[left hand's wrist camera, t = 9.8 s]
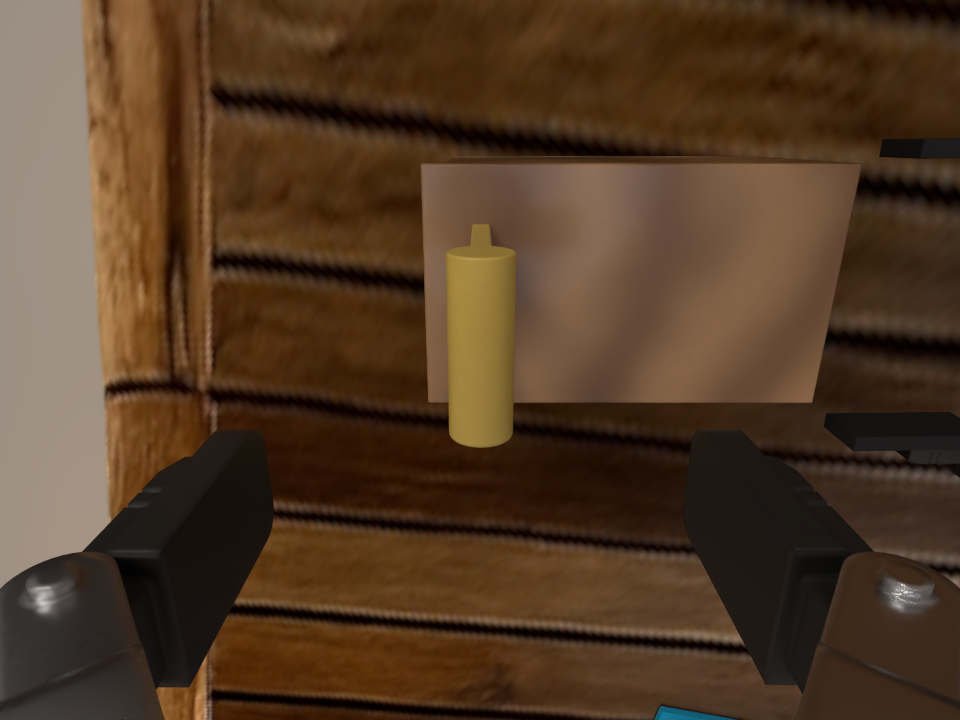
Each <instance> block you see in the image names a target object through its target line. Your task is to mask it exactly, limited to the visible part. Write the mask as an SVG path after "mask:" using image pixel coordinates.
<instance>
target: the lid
mask: <svg viewBox="0 0 960 720" xmlns="http://www.w3.org/2000/svg"><path fill="white" fill-rule="evenodd" d="M861 167H862V165H861V164H860V163H423V164H421V193H422V224H423V254H424V285H425V316H426V347H427V377H428V401H429V402H430V403H449V433H450V436H451V437H452V439H453V440H454V441H456V442H458V443H460V444H462V445H465V446H470V447H480V448H482V447H493V446H497V445H500V444H503V443H505V442H506V441H508V440H509V439H510V438H511V436H512V433H513V403H812V401H813V396H814V392H815V387H816V382H817V377H818V372H819V368H820V363H821V358H822V353H823V349H824V344H825V339H826V334H827V329H828V325H829V320H830V315H831V310H832V305H833V301H834V296H835V291H836V286H837V282H838V277H839V272H840V267H841V262H842V258H843V253H844V248H845V243H846V239H847V234H848V229H849V224H850V219H851V215H852V210H853V205H854V200H855V195H856V191H857V186H858V181H859V176H860V172H861Z"/></svg>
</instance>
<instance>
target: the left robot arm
mask: <svg viewBox="0 0 960 720" xmlns="http://www.w3.org/2000/svg"><path fill="white" fill-rule="evenodd" d="M142 490H143V491H142V493H138V494H137V495H136V496H135V497H134V499H133V500H132V501H131V502H130V503H129V504H128V508H124V509H123V510H122V511H121V512H120V513H119V514H118V515H117V516H116V517H115V518H114V519H113V520H112V521H111V522H110V523H109V524H108V525H107V526H106V528H105V529H104V530H103V531H102V532H101V533H100V534H99V535H98V536H97V537H96V538H95V539H94V540H93V541H92V542H91V543H90V544H89V545H88V546H87V547H86V548H85V549H84V550H83V551H82V552H78V553H71V554H67V555H62V556H59V557H55V558H52V559H49V560H47V561H44V562H41V563H39V564H37V565H35V566H32V567H31V568H29V569H27V570H25V571H23V572H21V573H20V574H18V575H17V576H15V577H14V578H12V579H11V580H10V581H8V582H7V583H6V584H5V585H4V586H3V587H2V588H1V589H0V720H164V716H163V713H162V709H161V706H160V703H159V699H158V696H157V692H156V689H157V687H190V685H191V683H192V681H193V679H194V677H195V675H196V674H197V672H198V670H199V668H200V666H201V664H202V662H203V660H204V659H205V657H206V655H207V653H208V651H209V649H210V647H211V645H212V643H213V642H214V640H215V638H216V636H217V634H218V632H219V630H220V628H221V627H222V625H223V623H224V621H225V619H226V617H227V615H228V613H229V611H230V610H231V608H232V606H233V604H234V602H235V600H236V598H237V596H238V594H239V593H240V591H241V589H242V587H243V585H244V583H245V581H246V579H247V578H248V576H249V574H250V572H251V570H252V568H253V566H254V564H255V562H256V561H257V559H258V557H259V555H260V553H261V551H262V549H263V547H264V546H265V544H266V542H267V540H268V538H269V535H270V532H271V529H272V524H273V515H274V505H273V497H272V490H271V482H270V475H269V468H268V461H267V454H266V446H265V441H264V438H263V435H262V434H261V432H260V431H258V430H219V431H215V432H214V433H213V434H212V435H211V436H210V437H209V438H208V439H207V441H206V442H205V443H204V444H203V445H202V446H201V447H200V448H199V449H198V450H197V452H196V453H195V454H194V455H193V456H192V457H184V458H182V459H181V460H179V461H177V462H175V463H174V464H172V465H170V466H168V467H167V468H165V469H163V470H162V471H160V472H159V473H158V474H157V475H156V476H155V477H154V478H153V479H152V480H151V481H150V482H149V483H148V484H147V485H146V486H145V487H144V488H143V489H142ZM683 515H684V523H685V528H686V532H687V535H688V537H689V539H690V541H691V543H692V545H693V547H694V549H695V551H696V552H697V554H698V556H699V558H700V560H701V562H702V564H703V566H704V568H705V570H706V571H707V573H708V575H709V577H710V579H711V581H712V583H713V585H714V587H715V589H716V591H717V592H718V594H719V596H720V598H721V600H722V602H723V604H724V606H725V608H726V610H727V612H728V613H729V615H730V617H731V619H732V621H733V623H734V625H735V627H736V629H737V631H738V632H739V634H740V636H741V638H742V640H743V642H744V644H745V646H746V648H747V650H748V652H749V653H750V655H751V657H752V659H753V661H754V663H755V665H756V667H757V669H758V671H759V673H760V674H761V676H762V678H763V680H764V682H765V684H766V685H798V687H799V689H800V690H801V692H802V694H803V696H802V699H801V703H800V706H799V709H798V713H797V716H796V720H960V589H959V588H958V587H957V586H956V585H955V584H954V583H953V582H952V581H950V580H949V579H948V578H946V577H945V576H943V575H942V574H940V573H939V572H937V571H935V570H933V569H931V568H930V567H928V566H925V565H923V564H921V563H919V562H916V561H913V560H911V559H908V558H905V557H901V556H898V555H893V554H889V553H882V552H874V551H873V550H872V549H871V548H870V547H869V546H868V545H867V544H866V543H865V542H864V540H863V539H862V538H861V537H860V536H859V535H858V534H857V533H856V532H855V531H854V530H853V529H852V528H851V527H850V526H849V525H848V524H847V523H846V522H845V521H844V520H843V519H842V517H841V516H840V515H839V514H838V513H837V512H836V511H835V510H834V509H833V508H832V507H831V506H827V502H826V501H825V500H824V499H823V498H822V497H821V496H820V494H819V493H818V492H814V491H813V487H812V486H811V485H810V484H809V483H808V482H807V481H806V480H805V479H804V478H803V477H802V476H801V475H800V474H799V473H798V471H796V470H795V469H793V468H791V467H790V466H788V465H786V464H784V463H783V462H781V461H779V460H777V459H776V458H774V457H772V456H764V455H763V454H762V453H761V452H760V450H759V449H758V448H757V447H756V446H755V445H754V444H753V443H752V442H751V440H750V439H749V438H748V437H747V436H746V435H745V434H744V433H743V432H742V431H741V430H697V431H696V432H695V434H694V436H693V439H692V444H691V451H690V458H689V466H688V473H687V480H686V488H685V495H684V503H683Z"/></svg>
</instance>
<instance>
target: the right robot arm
mask: <svg viewBox="0 0 960 720" xmlns="http://www.w3.org/2000/svg"><path fill="white" fill-rule="evenodd" d="M879 157H897V158H920V159H922V158H960V138H933V139H883V141H882V146H881V151H880V156H879ZM824 427H825V428H826V429H828V430H829V431H830V432H831V433H832V434H834V435H835V436H836V437H837V438H838V439H840V440H841V441H842V442H843V443H844V444H846V445H847V446H848V447H849V448H850V449H852V450H853V451H896V452H898V453H899V454H901V455H902V456H903V457H905V458H906V459H907V460H909V461H911V462H914V463H916V464H928V463H929V464H936V463H938V464H950V470H951V471H952V472H953V473H954V474H955V475H957V476H958V477H960V418H959V417H957V416H956V415H954V414H952V413H950V412H917V413H827V414H826V418H825V423H824Z"/></svg>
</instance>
